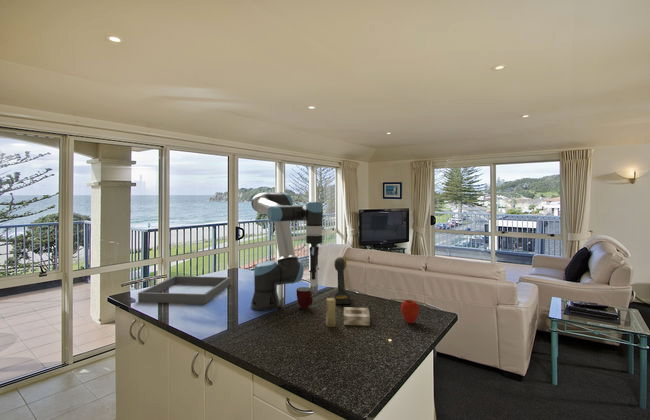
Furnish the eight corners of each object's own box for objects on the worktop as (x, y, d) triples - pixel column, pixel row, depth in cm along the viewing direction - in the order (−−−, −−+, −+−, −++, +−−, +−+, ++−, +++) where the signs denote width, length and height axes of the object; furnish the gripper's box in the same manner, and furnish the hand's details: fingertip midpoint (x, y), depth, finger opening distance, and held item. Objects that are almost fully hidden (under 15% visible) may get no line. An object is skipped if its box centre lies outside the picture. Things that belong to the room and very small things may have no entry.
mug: (318, 308, 169) (318, 289, 168) (307, 312, 163) (307, 293, 162) (303, 304, 176) (304, 286, 175) (293, 307, 170) (293, 289, 169)
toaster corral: (138, 301, 177) (138, 293, 177) (174, 283, 215) (174, 275, 215) (205, 303, 175) (205, 294, 174) (230, 284, 212) (230, 277, 212)
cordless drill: (350, 295, 192) (350, 253, 191) (349, 306, 173) (350, 260, 171) (335, 294, 193) (335, 253, 192) (332, 305, 173) (333, 259, 172)
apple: (396, 320, 153) (396, 298, 153) (411, 318, 156) (411, 296, 156) (407, 327, 145) (408, 304, 145) (422, 324, 149) (423, 301, 148)
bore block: (343, 324, 148) (343, 316, 148) (343, 315, 160) (343, 307, 160) (369, 325, 147) (369, 316, 147) (367, 315, 159) (368, 307, 159)
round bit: (309, 292, 149) (310, 266, 148) (310, 290, 152) (310, 264, 152) (317, 292, 148) (317, 266, 148) (317, 290, 152) (318, 265, 151)
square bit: (327, 327, 145) (327, 300, 145) (325, 323, 149) (326, 298, 148) (335, 326, 146) (335, 300, 145) (333, 323, 149) (333, 297, 149)
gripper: (320, 237, 141) (320, 290, 142) (323, 233, 157) (323, 280, 158) (303, 236, 141) (303, 289, 142) (308, 232, 158) (308, 280, 158)
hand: (314, 284), depth 150 cm, fingers closed on round bit, 3 cm apart
